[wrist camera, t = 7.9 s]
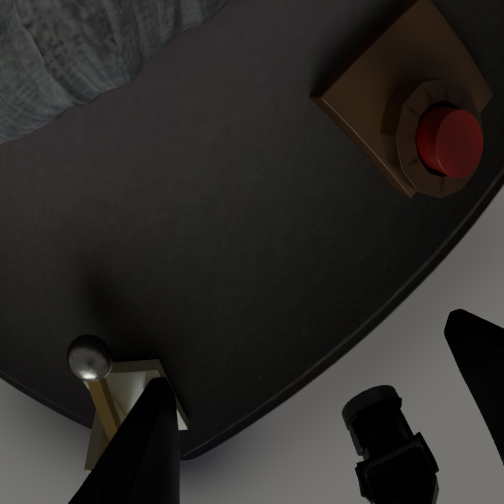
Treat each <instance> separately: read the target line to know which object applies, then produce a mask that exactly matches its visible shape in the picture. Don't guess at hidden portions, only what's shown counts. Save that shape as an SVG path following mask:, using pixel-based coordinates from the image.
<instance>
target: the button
mask: <svg viewBox="0 0 504 504" xmlns="http://www.w3.org/2000/svg"><path fill="white" fill-rule="evenodd" d="M416 142H417V148H418V151H419V154H420V156H421V158H422V160H423V161H424V162H425V163H426V164H427V165H428V166H429V167H431V168H433V169H435V170H437V171H439V172H442V173H444V174H446V175H448V176H450V177H452V178H463V177H466V176H468V175H469V174H471V173H472V172H473V171H474V169H475V168H476V167H477V165H478V163H479V161H480V158H481V155H482V150H483V135H482V131H481V128H480V125H479V123H478V121H477V120H476V118H475V117H474V116H473V115H472V114H471V113H469V112H468V111H466V110H462V109H457V108H452V107H446V106H435V107H432V108H430V109H429V110H428V111H426V112H425V113H424V115H423V116H422V118H421V120H420V122H419V124H418V128H417V134H416Z"/></svg>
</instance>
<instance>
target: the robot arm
mask: <svg viewBox="0 0 504 504" xmlns="http://www.w3.org/2000/svg"><path fill="white" fill-rule="evenodd" d="M444 335H445V338H446V340H447V342H448V345H449V347H450V349H451V351H452V354H453V356H454V359H455V361H456V363H457V366H458V368H459V370H460V372H461V374H462V376H463V378H464V380H465V382H466V384H467V386H468V388H469V390H470V392H471V394H472V396H473V398H474V400H475V401H476V404H477V406H478V408H479V410H480V412H481V414H482V416H483V418H484V420H485V423H486V425H487V427H488V429H489V431H490V433H491V436H492V438H493V440H494V443H495V445H496V447H497V450H498V452H499V455H500V457H501V459H502V462H503V465H504V328H502V327H499V326H497V325H495V324H493V323H491V322H489V321H487V320H484V319H482V318H480V317H478V316H476V315H474V314H472V313H469V312H467V311H465V310H463V309H457V310H454V311H452V312H450V314H449V316H448V320H447V323H446V326H445V329H444ZM401 402H402V398H401V397H398V398H396V399H393V400H390V401H387V402H384V403H381V404H378V405H375V406H371V407H368V408H365V409H362V410H359V411H357V412H356V413H355V416H354V420H353V423H352V425H351V428H350V435H351V438H352V441H353V444H354V446H355V449H356V451H357V454H358V455H359V456H361V455H362V456H363V458H364V461H362V462H358V463H357V467H356V468H355V471H356V474H357V476H358V481H359V486H360V492H361V496H362V497H365V498H367V500H368V501H369V502H370V503H371V504H374V503H375V504H436V501H437V497H438V492H439V487H438V481H437V477H436V474H435V473H437V472H438V471H439V469H438V466H437V463H436V461H435V458H434V456H433V454H432V452H431V451H430V449H429V447H428V445H427V444H426V442H425V440H424V438H423V436H422V435H421V433H420V432H418V433H417V434H416V435H413V433H412V431H411V429H410V427H409V425H408V423H407V421H406V419H405V417H404V415H403V413H402V411H401V409H400V405H401ZM94 467H95V468H93V469H92V470H91V472H90V474H89V475H88V477H87V478H86V480H85V481H84V483H83V484H82V486H81V487H80V489H79V490H78V491H77V493H76V494H75V495H74V496H73V498H72V499H71V500H70V502H69V503H68V504H180V502H179V480H180V479H179V477H180V476H179V474H180V440H179V429H178V418H177V406H176V397H175V394H174V391H173V389H172V388H171V386H170V384H169V382H168V380H167V378H166V377H155V378H152V379H151V380H150V381H149V383H148V384H147V386H146V387H145V389H144V390H143V392H142V393H141V395H140V397H139V398H138V400H137V401H136V403H135V404H134V406H133V407H132V409H131V410H130V412H129V413H128V415H127V416H126V418H125V419H124V421H123V423H122V424H121V426H120V427H119V429H118V430H117V432H116V433H115V435H114V436H113V438H112V440H111V441H110V443H109V444H108V446H107V447H106V449H105V450H104V452H103V454H102V455H101V457H100V458H99V460H98V461H97V463H96V464H95V466H94Z"/></svg>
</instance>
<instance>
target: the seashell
mask: <svg viewBox="0 0 504 504" xmlns="http://www.w3.org/2000/svg"><path fill="white" fill-rule="evenodd" d="M228 2H229V0H0V145H1V144H2V143H4V142H6V141H10V140H15V139H20V138H21V137H23V136H25V135H27V134H29V133H31V132H33V131H35V130H37V129H39V128H41V127H44V126H46V125H48V124H50V123H52V122H54V121H55V120H57V119H58V118H59V117H61V116H62V115H63V114H64V113H65V111H66V110H67V109H68V108H69V107H71V106H73V105H76V106H84V105H86V104H89V103H91V102H93V101H94V100H95V99H96V98H98V97H99V96H100V95H102V94H103V93H105V92H106V91H108V90H110V89H115V88H119V87H121V86H122V85H124V84H126V83H128V82H130V81H131V80H133V79H134V78H135V77H136V76H137V75H138V74H139V73H140V72H141V70H142V68H143V66H144V65H145V64H146V63H147V61H149V60H150V59H151V58H152V57H153V56H154V55H155V54H156V53H157V52H159V51H160V50H162V49H163V48H164V47H166V46H167V45H169V44H170V42H171V41H172V40H173V38H174V36H175V35H176V34H177V33H179V32H181V31H184V30H188V29H191V28H194V27H198V26H201V25H202V24H203V23H205V22H206V21H208V20H209V19H211V18H212V17H213V16H215V15H216V14H217V12H218V11H220V10H221V9H222V8H223V7H224V6H225V5H226V4H227V3H228Z"/></svg>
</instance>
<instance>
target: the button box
mask: <svg viewBox="0 0 504 504" xmlns="http://www.w3.org/2000/svg"><path fill="white" fill-rule="evenodd" d="M492 96H493V94H492V92H491V90H490V88H489V86H488V85H487V83H486V81H485V79H484V77H483V76H482V74H481V72H480V71H479V69H478V67H477V65H476V64H475V62H474V61H473V59H472V57H471V56H470V54H469V53H468V51H467V49H466V48H465V46H464V45H463V43H462V42H461V40H460V39H459V38H458V36H457V35H456V33H455V32H454V30H453V29H452V28H451V26H450V25H449V23H448V22H447V21H446V19H445V18H444V17H443V15H442V14H441V13H440V12H439V10H438V9H437V8H436V7H435V5H434V4H433V3H432V2H431V0H407V1H406V2H405V3H404V4H402V5H401V6H400V7H399V8H398V9H397V10H396V11H395V12H394V13H393V14H392V15H391V16H390V17H388V18H387V19H386V20H385V21H384V22H383V23H382V24H381V25H380V26H379V27H378V28H377V29H376V30H375V31H374V32H373V33H372V34H371V35H370V36H369V37H368V38H367V39H366V40H365V41H363V42H362V43H361V44H360V45H359V46H358V47H357V48H356V49H355V50H354V51H353V52H352V53H351V54H350V55H349V56H348V57H347V58H346V59H345V60H344V61H343V62H342V63H341V65H340V66H339V67H338V68H337V69H336V70H335V71H334V72H333V73H332V74H331V75H330V76H329V77H328V78H327V79H326V80H325V81H324V82H323V83H322V84H321V85H320V86H319V87H318V88H317V89H316V90H315V92H314V93H313V94H312V95H311V96H310V99H311V100H313V101H314V102H315V103H316V104H317V105H318V106H319V107H320V108H321V109H322V110H323V111H324V112H325V113H326V114H327V115H328V116H329V117H330V118H331V119H332V120H333V121H334V122H335V123H336V124H337V125H338V126H339V127H340V128H341V129H342V130H343V131H344V132H345V133H346V134H347V135H348V136H349V137H350V138H351V139H352V140H353V141H354V142H355V143H356V145H357V146H358V147H359V148H360V149H361V150H362V151H363V152H364V153H365V154H366V155H367V157H368V158H369V159H370V160H371V161H372V162H373V163H374V164H375V165H376V167H377V168H378V169H379V170H380V171H381V172H382V174H383V175H384V176H385V177H386V178H387V179H388V181H389V182H390V183H391V184H392V185H393V187H394V188H395V189H397V190H398V191H400V192H402V193H403V194H405V195H407V196H408V197H410V198H411V197H412V196H413V195H414V194H415V193H416V192H417V191H418V192H420V193H424V194H427V195H431V196H434V197H437V198H442V197H444V196H447V195H449V194H452V193H454V192H457V191H459V190H461V189H462V188H463V187H464V186H465V184H466V183H467V182H468V180H469V179H470V178H471V177H472V175H473V174H474V173H475V171H476V169H477V167H476V168H475V169H474V171H473V172H472V173H471V174H469V175H468V176H466V177H463V178H452V177H450V176H448V175H446V174H444V173H442V172H439V171H437V170H435V169H433V168H431V167H429V166H428V165H427V164H426V163H425V162H424V161H423V160H422V158H421V156H420V154H419V151H418V148H417V142H416V134H417V128H418V124H419V122H420V120H421V118H422V116H423V115H424V113H425V112H426V111H428V110H429V109H430V108H432V107H435V106H446V107H452V108H457V109H462V110H466V111H468V112H469V113H471V114H472V115H473V116H474V117H475V118H476V120H477V121H478V123H479V125H480V128H481V131H482V122H481V115H480V112H481V111H482V110H483V108H484V107H485V105H486V104H487V103H488V101H489V100H490V99H491V97H492ZM482 135H483V131H482ZM483 143H484V140H483ZM477 166H478V165H477Z"/></svg>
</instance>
